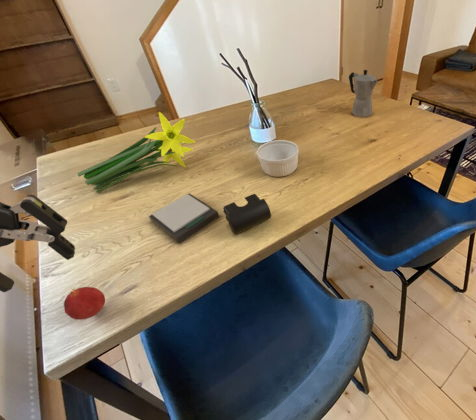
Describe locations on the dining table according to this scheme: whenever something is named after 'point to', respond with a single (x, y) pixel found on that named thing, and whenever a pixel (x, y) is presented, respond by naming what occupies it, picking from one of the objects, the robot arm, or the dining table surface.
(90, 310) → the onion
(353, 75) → the coffeepot
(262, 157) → the ramekin
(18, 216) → the robot arm
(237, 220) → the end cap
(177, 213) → the kitchen scale
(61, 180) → the dining table surface
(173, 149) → the daffodil flowers
